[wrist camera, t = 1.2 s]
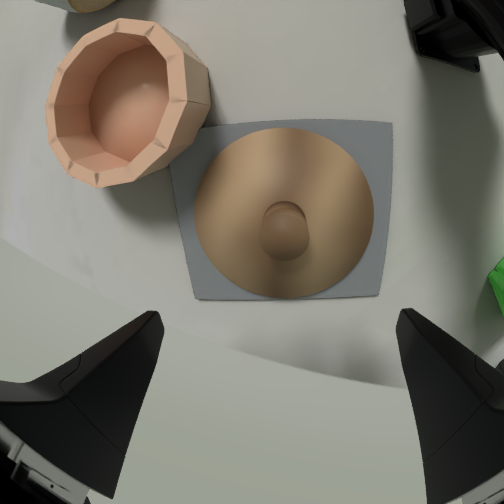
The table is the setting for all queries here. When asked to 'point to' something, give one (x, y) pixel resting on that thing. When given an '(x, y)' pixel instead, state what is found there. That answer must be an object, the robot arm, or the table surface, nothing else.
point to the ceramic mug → (78, 5)
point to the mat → (339, 131)
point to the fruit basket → (498, 284)
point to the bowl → (125, 102)
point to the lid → (284, 212)
